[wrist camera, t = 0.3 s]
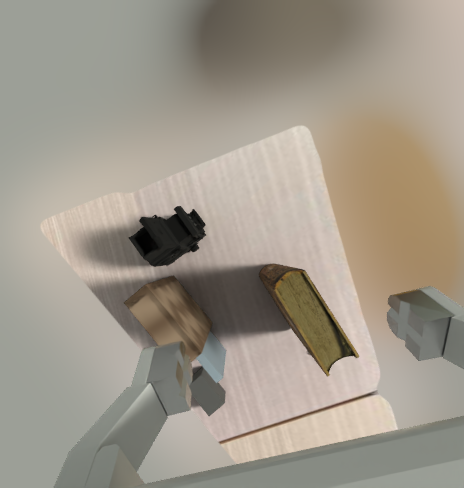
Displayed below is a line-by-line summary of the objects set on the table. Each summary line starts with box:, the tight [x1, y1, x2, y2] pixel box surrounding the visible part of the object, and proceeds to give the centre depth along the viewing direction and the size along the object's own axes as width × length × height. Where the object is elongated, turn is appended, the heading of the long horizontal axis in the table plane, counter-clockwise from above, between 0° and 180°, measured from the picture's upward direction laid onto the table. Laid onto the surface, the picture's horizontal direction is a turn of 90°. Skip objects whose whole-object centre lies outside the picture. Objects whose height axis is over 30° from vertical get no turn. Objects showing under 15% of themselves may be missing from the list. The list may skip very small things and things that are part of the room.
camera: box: [128, 206, 206, 267], centre depth 54 cm, size 10×14×20 cm
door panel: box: [196, 331, 226, 383], centre depth 55 cm, size 12×2×14 cm, turn 40°
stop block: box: [189, 367, 225, 416], centre depth 60 cm, size 8×4×5 cm, turn 40°
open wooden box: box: [124, 276, 212, 362], centre depth 53 cm, size 15×5×20 cm, turn 40°
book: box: [259, 264, 359, 376], centre depth 50 cm, size 16×6×25 cm, turn 32°
